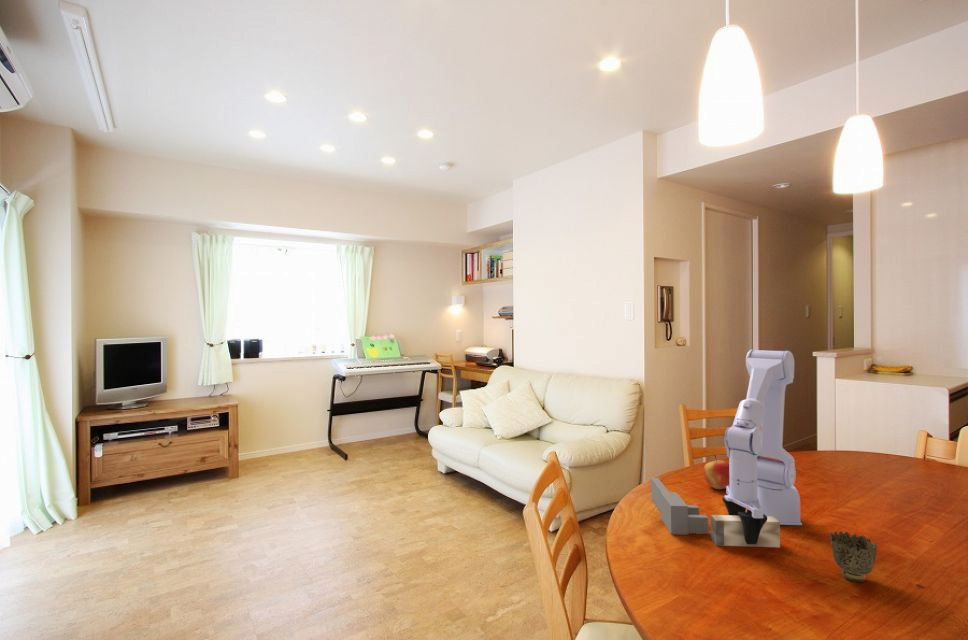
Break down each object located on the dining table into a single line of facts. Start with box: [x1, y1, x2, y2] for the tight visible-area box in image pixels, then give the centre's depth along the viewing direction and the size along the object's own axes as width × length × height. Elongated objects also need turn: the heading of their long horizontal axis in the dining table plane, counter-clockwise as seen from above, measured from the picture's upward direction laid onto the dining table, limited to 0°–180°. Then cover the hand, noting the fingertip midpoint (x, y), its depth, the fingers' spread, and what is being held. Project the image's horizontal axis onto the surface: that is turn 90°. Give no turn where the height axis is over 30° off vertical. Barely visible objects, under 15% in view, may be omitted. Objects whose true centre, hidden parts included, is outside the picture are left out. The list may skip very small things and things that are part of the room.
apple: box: [702, 454, 730, 490], centre depth 146 cm, size 8×8×10 cm
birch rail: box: [710, 514, 781, 548], centre depth 110 cm, size 14×3×6 cm, turn 84°
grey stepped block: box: [650, 477, 709, 536], centre depth 126 cm, size 9×23×7 cm, turn 175°
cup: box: [829, 530, 878, 583], centre depth 95 cm, size 8×7×8 cm
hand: (743, 536), depth 110 cm, fingers open, 7 cm apart
